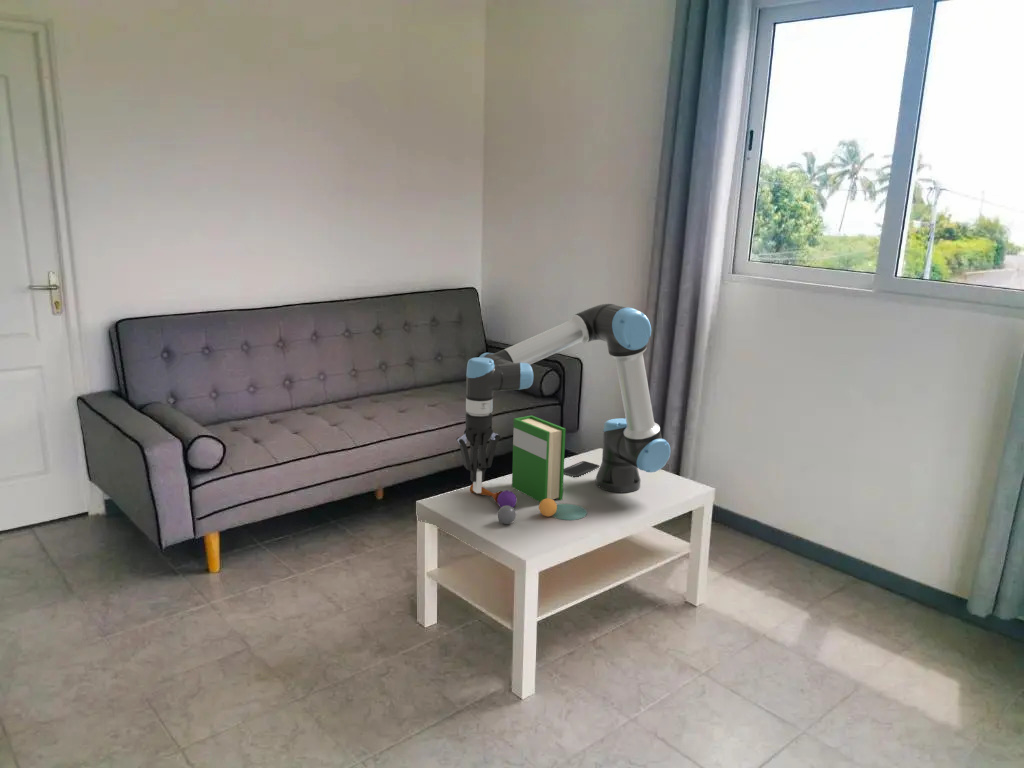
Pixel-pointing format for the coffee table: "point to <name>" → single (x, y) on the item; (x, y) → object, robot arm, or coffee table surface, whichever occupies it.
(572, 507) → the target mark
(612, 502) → the coffee table surface
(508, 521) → the gray ball
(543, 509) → the orange ball
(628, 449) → the robot arm
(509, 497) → the kendama
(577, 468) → the phone
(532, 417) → the hardback book
